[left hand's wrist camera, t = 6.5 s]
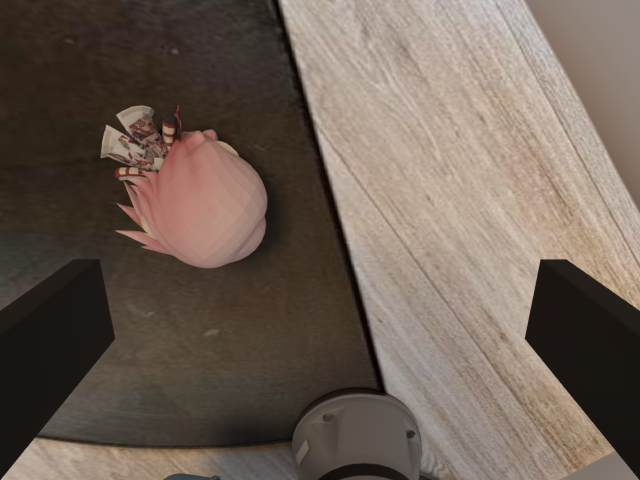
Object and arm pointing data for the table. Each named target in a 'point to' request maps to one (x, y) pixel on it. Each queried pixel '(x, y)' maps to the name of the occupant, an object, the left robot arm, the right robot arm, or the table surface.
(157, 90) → the table surface
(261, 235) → the toy
